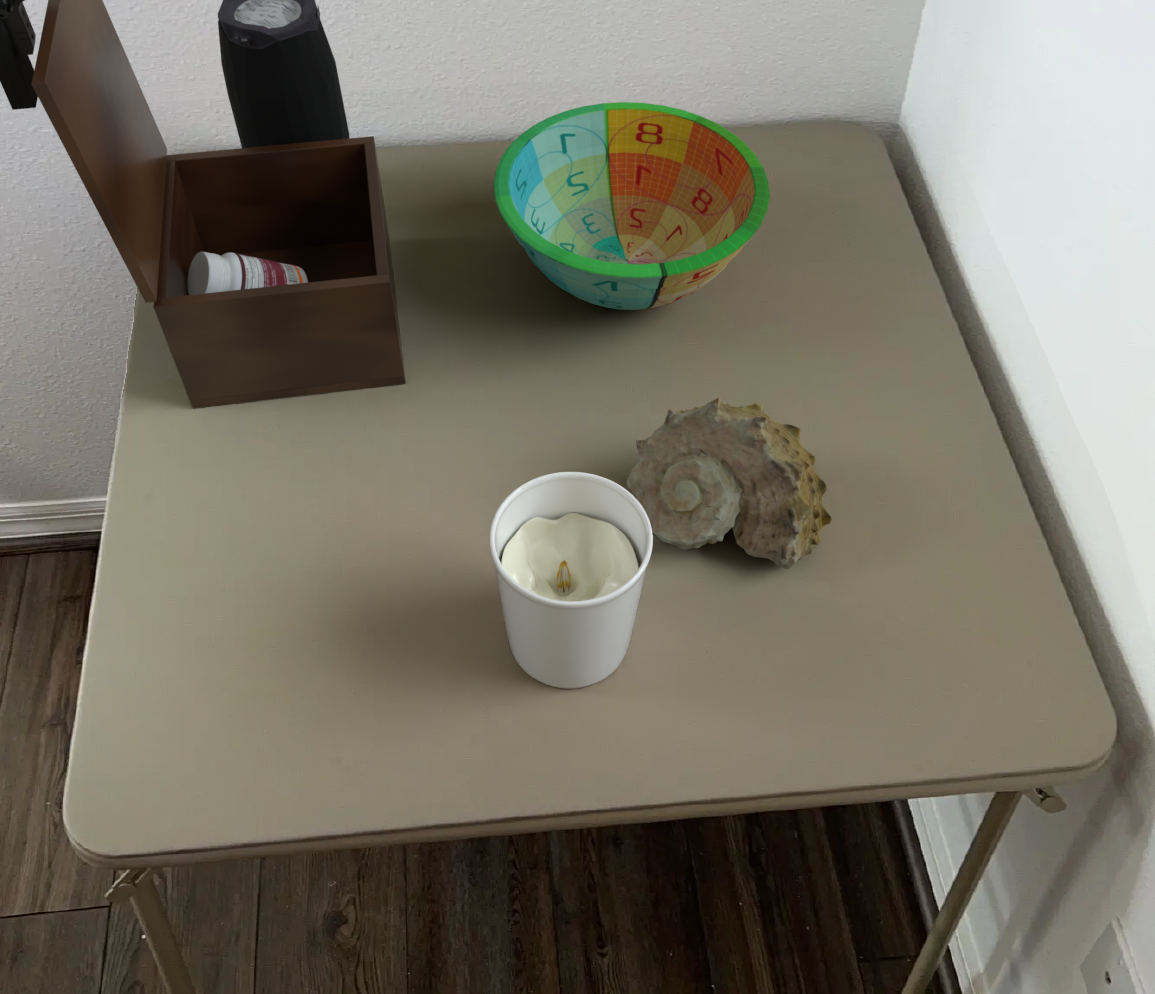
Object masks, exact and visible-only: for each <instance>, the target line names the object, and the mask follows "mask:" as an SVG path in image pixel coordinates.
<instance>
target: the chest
mask: <svg viewBox="0 0 1155 994" xmlns="http://www.w3.org/2000/svg"><path fill="white" fill-rule="evenodd" d="M377 154H378V153H377V147H376V141H375V136H372V135H371V136H370V135H369V136H361V137H360V136H359V137H349V138H348V139H337V140H327V141H316V142H305V143H294V144H283V145H272V146H261V147H250V148H242V147H240V148H239V147H238V148H229V149H220V150H219V149H217V150H207V151H195V152H185V153H174V154H167V160H166V174H165V188H164V203H163V217H162V231H161V245H160V260H159V274H158V288H157V301H155V302H153V305H152V307H153V310H154V313H155V316H156V318H157V321H158V323H159V326H160V329H161V331H162V334H163V336H164V339H165V341H166V343H167V346H168V349H169V352H170V354H171V357H172V359H173V362H174V364H175V367H176V370H177V372H178V374H179V378H180V380H181V383H182V385H183V389H184V390H185V392H186V396H187V398H188V400H189V403H190V405H191V408H192V409H199V408H209V407H217V406H225V405H233V404H234V405H235V404H242V403H243V404H244V403H251V402H261V401H268V400H269V401H270V400H278V399H285V398H295V397H303V396H310V395H320V394H328V393H336V392H345V391H353V390H362V389H371V388H380V387H389V386H395V385H396V386H397V385H405V384H406V382H407V381H406V373H405V365H404V355H403V346H402V338H401V337H402V336H401V330H400V320H399V319H400V318H399V312H398V304H397V292H396V285H395V276H394V267H393V266H394V265H393V258H392V249H391V241H390V240H391V239H390V234H389V227H388V221H387V215H386V207H385V200H384V195H383V186H382V180H381V173H380V167H379V160H378V156H377ZM199 252H207V253H213V254H217V255H220V256H222V255H223V254H225V253H237V254H242V255H247V256H251V257H256V258H261V259H266V260H270V261H274V262H279V263H283V264H290V265H294V266H298V267H300V268H301V269H303V271H304V272H305V274H306V276H307V279H308V283H300V284H290V285H281V286H271V287H262V288H252V289H243V290H233V291H224V292H214V293H205V294H195V295H189V294H188V286H187V281H188V272H189V268H190V265H191V262H192V260H193V258H194V257H195V255H196V254H197V253H199Z"/></svg>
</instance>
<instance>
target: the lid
mask: <svg viewBox="0 0 1155 994" xmlns="http://www.w3.org/2000/svg"><path fill="white" fill-rule="evenodd" d="M44 14H45V15H44V21H43V25H42V30H41V35H40V40H39V45H38V50H37V55H36V61H35V66H34V75H33V80H32V86H33V88H34V90H35V92H36V94H37V96H38V100H39V102H40V104H41V106H42V107H43V110H44V111H45V114H46V115H47V117H48V119H49V121H50V123H51V125H52V127H53V128H54V130H55V132H56V134H57V136H58V138H59V140H60V142H61V143H62V144H61V145H62V147H63V148H64V149H65V151H66V153H67V155H68V157H69V159H70V162H71V163H72V165H73V166H74V169H75V170H76V173H77V174H78V176H79V179H80V180H81V182H82V184H83V186H84V188H85V190H86V191H87V194H88V195H89V197H90V200H91V201H92V203H93V206H94V207H95V209H96V211H97V213H98V215H99V216H100V219H101V221H102V222H103V224H104V226H105V229H106V230H107V232H108V233H109V236H110V237H111V240H112V241H113V244H114V246H115V248H116V250H117V251H118V253H119V255H120V257H121V259H122V261H123V262H124V264H125V266H126V268H127V270H128V272H129V275H130V276H131V278H132V281H133V282H134V284H135V285H136V287H137V290H138V292H139V293H140V295H141V297H142V299H143V301H144V302H145V304H149V303H154V302H155V301H157V288H158V274H159V260H160V245H161V231H162V217H163V203H164V188H165V174H166V160H167V155H168V148H167V146H166V143H165V141H164V138H163V136H162V134H161V131H160V129H159V127H158V125H157V123H156V120H155V117H154V116H153V113H152V111H151V109H150V106H149V104H148V102H147V99H146V97H145V94H144V93H143V90H142V88H141V85H140V83H139V81H138V79H137V76H136V75H135V71H134V69H133V67H132V65H131V62H130V60H129V58H128V55H127V53H126V52H125V48H124V46H123V44H122V41H121V40H120V38H119V35H118V33H117V31H116V28H115V25H114V23H113V21H112V19H111V17H110V14H109V12H108V10H107V7H106V5H105V3H104V0H48V1H47V4H46V9H45V13H44Z"/></svg>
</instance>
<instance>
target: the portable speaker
mask: <svg viewBox="0 0 1155 994" xmlns="http://www.w3.org/2000/svg"><path fill="white" fill-rule="evenodd" d="M320 16H321V12H320V6H319V5H317V3H316V0H222V2H221V4H220V6H219V9H218V12H217V19H218V21H217V26H218V27H217V28H218V40H219V50H220V62H221V69H222V73H223V77H224V82H225V87H226V88H225V89H226V92H227V97H228V99H229V100H228V101H229V105H230V108H231V112H232V115H233V116H232V117H233V119H234V123H235V127H236V130H237V135H238V138H239V143H240V147H241V148H250V147H261V146H272V145H283V144H294V143H305V142H316V141H327V140H337V139H348V138H350V131H349V125H348V120H347V115H346V111H345V110H346V109H345V105H344V99H343V93H342V89H341V82H340V77H339V74H338V73H339V72H338V68H337V63H336V59H335V56H334V53H333V50H332V48H331V45H330V43H329V39H328V37H327V34H326V31H325V29H324V26H323V23H322V20H321V17H320Z"/></svg>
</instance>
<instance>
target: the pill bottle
mask: <svg viewBox="0 0 1155 994" xmlns="http://www.w3.org/2000/svg"><path fill="white" fill-rule="evenodd" d="M300 283H308V279H307V276H306V274H305V272H304V271H303V269H301V268H300V267H298V266H294V265H290V264H283V263H279V262H274V261H270V260H266V259H261V258H256V257H251V256H247V255H242V254H237V253H225V254H223V255H222V256H220V255H217V254H213V253H207V252H199V253H197V254H196V255H195V257H194V258H193V260H192V262H191V265H190V268H189V272H188V281H187V286H188V294H189V295H195V294H205V293H214V292H224V291H233V290H243V289H252V288H262V287H271V286H281V285H290V284H300Z"/></svg>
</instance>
